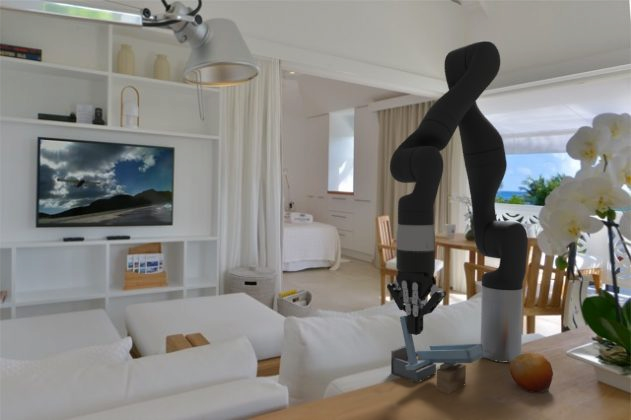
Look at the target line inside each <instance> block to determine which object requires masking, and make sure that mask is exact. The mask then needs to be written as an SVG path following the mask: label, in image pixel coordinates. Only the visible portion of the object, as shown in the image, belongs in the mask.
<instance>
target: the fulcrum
mask: <svg viewBox="0 0 631 420" xmlns="http://www.w3.org/2000/svg"><path fill="white" fill-rule="evenodd" d="M439 366H440V367H439V369H436V390H437V389H438V390H437V391H439V390H440V391H439V392H442V391H443V392H442V393H444V394H447V395H449V394H450V393H453V392H454V391H456V390H458V389H460V388H462V387H463V386H465V385H466V382H467V381H466V380H467V379H466V378H467V375H466V374H467V372H466V371H467V365H466V364H465V363H440V365H439ZM464 384H465V385H464ZM462 385H463V386H462ZM459 387H460V388H459Z"/></svg>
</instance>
